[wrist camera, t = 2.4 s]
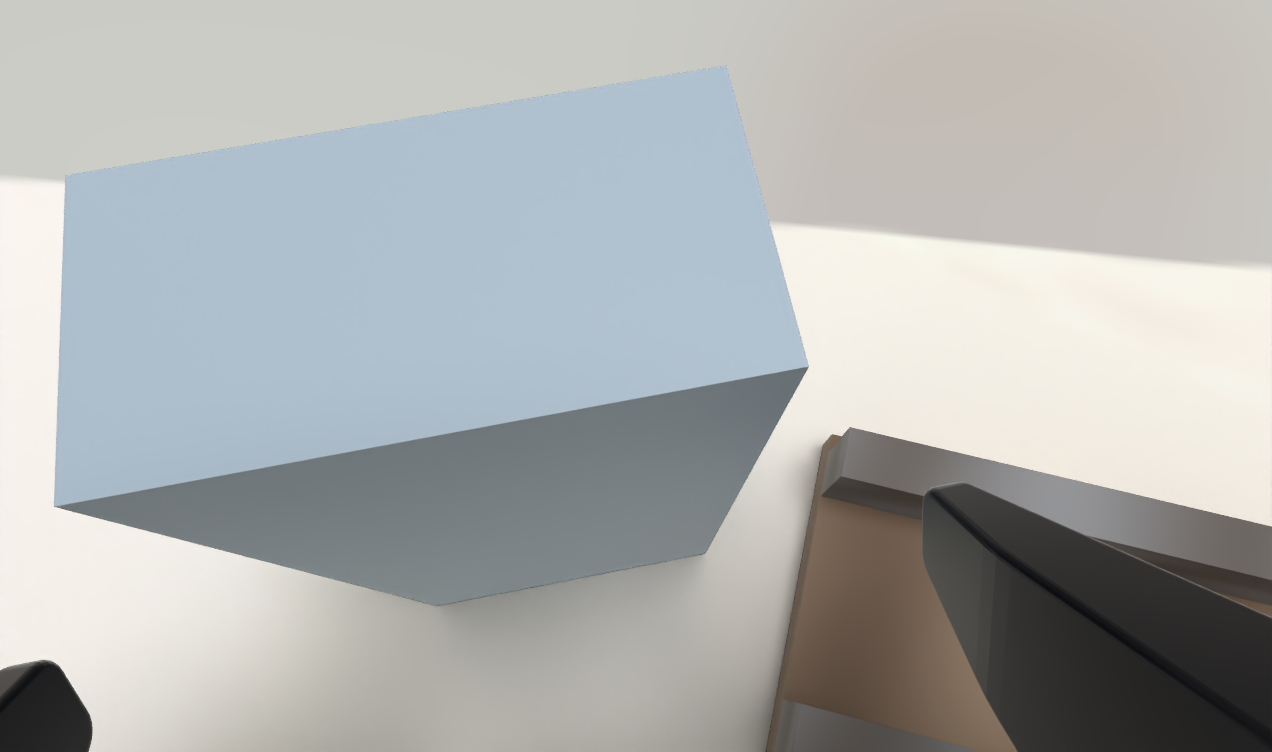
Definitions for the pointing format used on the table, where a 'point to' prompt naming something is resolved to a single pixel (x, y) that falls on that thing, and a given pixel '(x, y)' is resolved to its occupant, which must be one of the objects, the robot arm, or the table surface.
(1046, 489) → the floor track
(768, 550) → the table surface
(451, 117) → the door panel
